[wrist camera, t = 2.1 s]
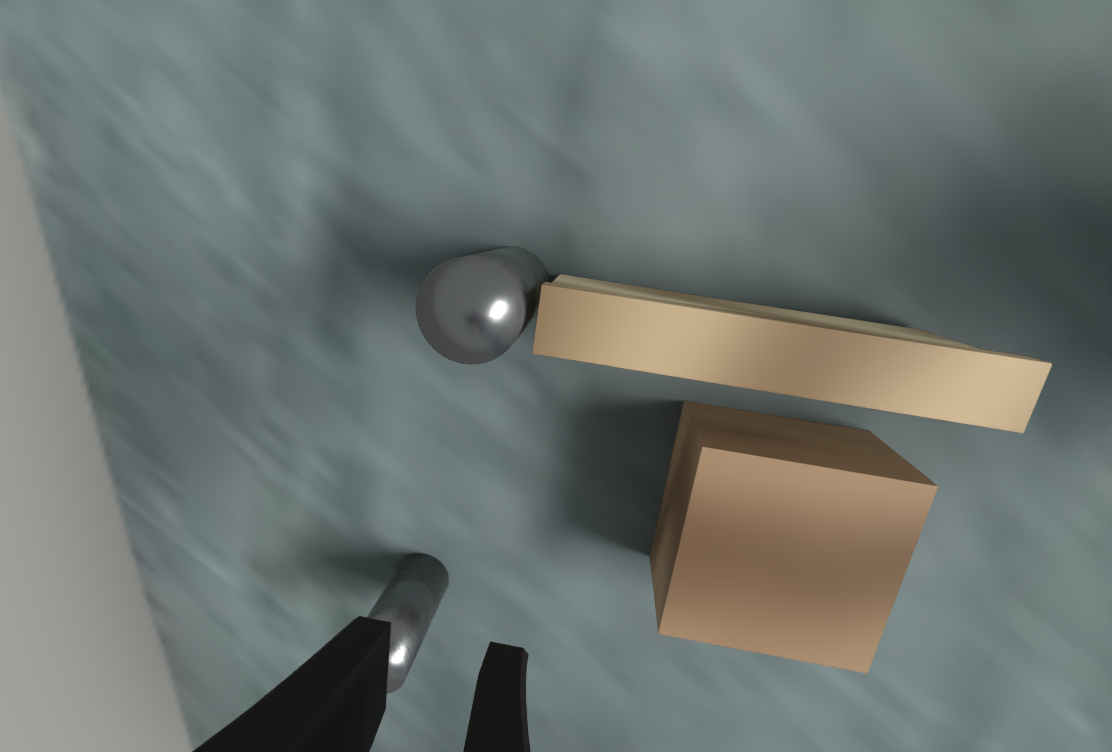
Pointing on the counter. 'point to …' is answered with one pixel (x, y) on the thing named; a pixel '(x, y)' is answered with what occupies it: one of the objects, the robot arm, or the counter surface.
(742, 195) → the counter surface
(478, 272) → the hinge post
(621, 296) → the gate
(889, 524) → the block
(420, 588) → the post
